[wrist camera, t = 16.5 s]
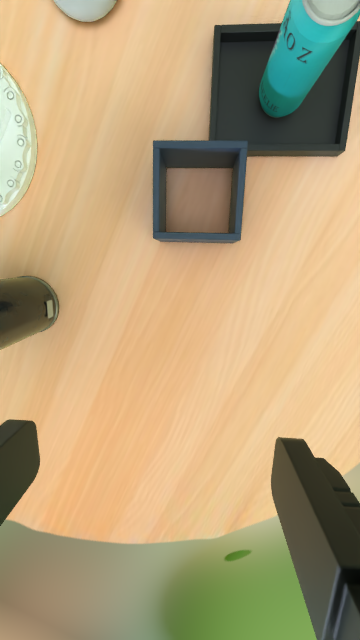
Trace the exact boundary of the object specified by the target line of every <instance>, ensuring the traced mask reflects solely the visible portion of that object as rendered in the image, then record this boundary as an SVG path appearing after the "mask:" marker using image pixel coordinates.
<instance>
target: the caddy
mask: <svg viewBox="0 0 360 640" xmlns="http://www.w3.org/2000/svg"><path fill="white" fill-rule="evenodd" d="M247 147H248V141H153V238H154V239H156V240H158V241H161V242H200V243H234V242H237V241H239V240H241V227H242V214H243V200H244V187H245V174H246V160H247ZM167 168H233V172H232V187H231V203H230V218H229V233H185V232H166V170H167Z"/></svg>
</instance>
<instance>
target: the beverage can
mask: <svg viewBox="0 0 360 640" xmlns="http://www.w3.org/2000/svg"><path fill="white" fill-rule="evenodd" d="M359 15H360V0H290V2H289V5H288V8H287V11H286V13H285V16H284V19H283V22H282V24H281V27H280V30H279V33H278V36H277V38H276V41H275V44H274V47H273V49H272V52H271V55H270V58H269V60H268V63H267V66H266V69H265V72H264V74H263V77H262V80H261V83H260V87H259V98H260V103H261V106H262V108H263V110H264V112H265V113H266V114H267V115H269V116H271V117H274V118H279V117H283V116H286V115H288V114H290V113H292V112H293V111H295V110H296V109H297V108H298V107H299V106H300V104H301V103H302V101H303V100H304V98H305V97H306V95H307V94H308V92H309V91H310V89H311V88H312V86H313V85H314V83H315V82H316V81H317V79H318V78H319V76H320V75H321V73H322V72H323V70H324V69H325V67H326V66H327V64H328V63H329V61H330V60H331V58H332V57H333V55H334V54H335V52H336V51H337V49H338V48H339V46H340V45H341V43H342V42H343V40H344V39H345V37H346V36H347V34H348V33H349V31H350V30H351V29H352V27H353V26H354V24H355V22H356V21H357V19H358V17H359Z"/></svg>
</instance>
